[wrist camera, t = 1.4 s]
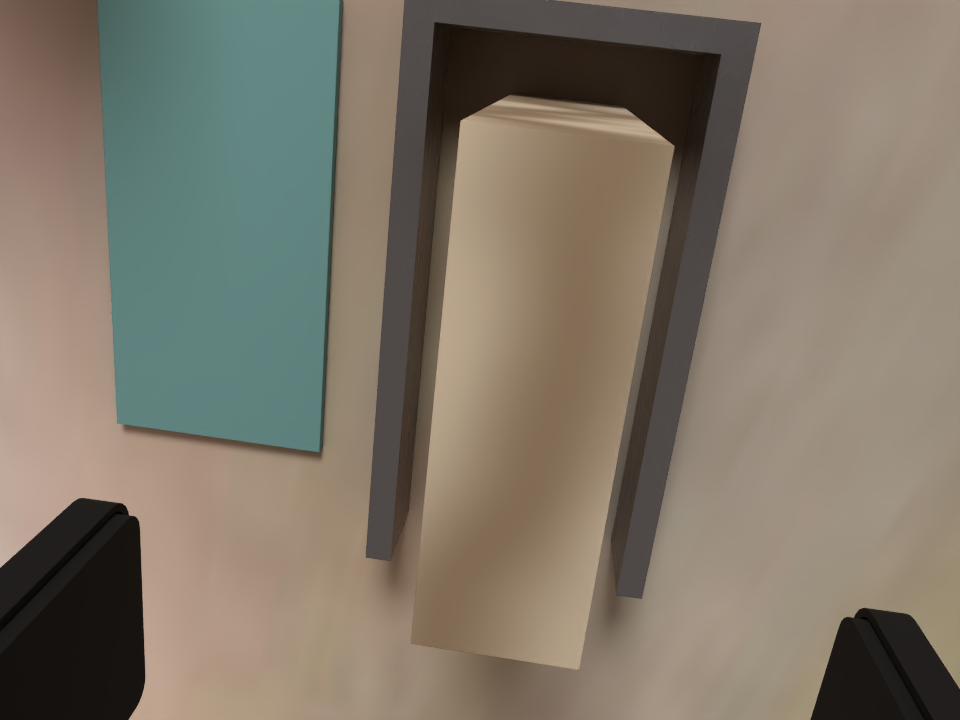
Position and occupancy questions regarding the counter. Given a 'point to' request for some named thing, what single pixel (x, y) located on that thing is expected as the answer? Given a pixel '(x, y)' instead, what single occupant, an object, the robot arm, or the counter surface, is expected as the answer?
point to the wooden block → (534, 371)
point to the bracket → (688, 256)
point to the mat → (221, 212)
